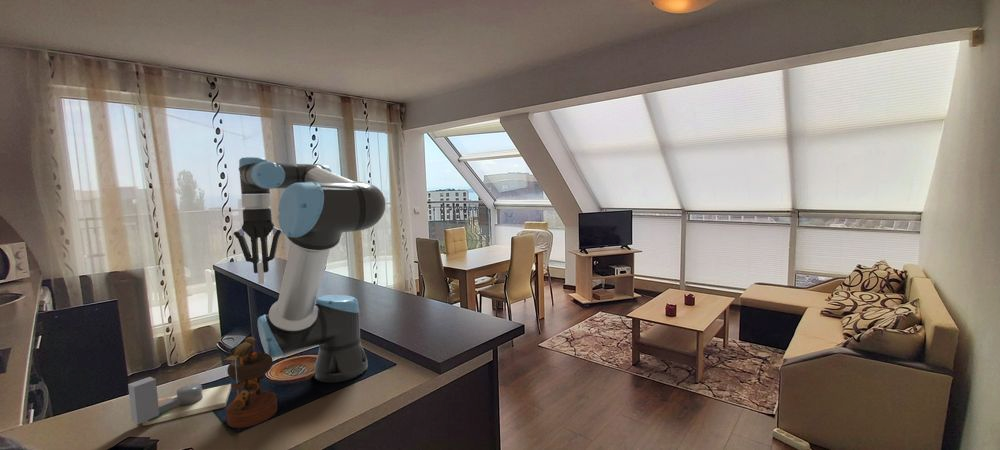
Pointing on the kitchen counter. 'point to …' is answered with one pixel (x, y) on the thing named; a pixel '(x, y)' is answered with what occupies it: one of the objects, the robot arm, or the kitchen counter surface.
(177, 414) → the board
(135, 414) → the grey block with ball
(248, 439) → the kitchen counter surface
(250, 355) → the music box
